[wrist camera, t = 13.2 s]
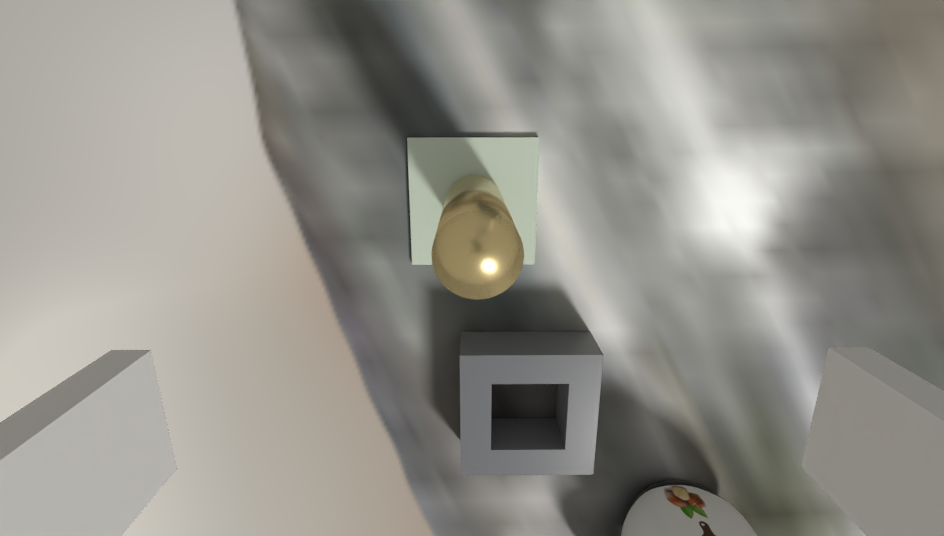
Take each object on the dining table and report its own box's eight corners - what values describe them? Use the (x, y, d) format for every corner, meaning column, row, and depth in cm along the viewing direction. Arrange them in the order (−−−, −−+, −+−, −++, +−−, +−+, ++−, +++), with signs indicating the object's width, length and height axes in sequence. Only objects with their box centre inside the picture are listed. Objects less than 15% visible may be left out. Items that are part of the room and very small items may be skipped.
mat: (407, 137, 33) (407, 137, 33) (538, 137, 33) (539, 137, 33) (412, 263, 36) (412, 264, 36) (534, 263, 36) (534, 264, 36)
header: (460, 331, 38) (459, 355, 34) (589, 331, 38) (603, 354, 34) (461, 441, 40) (460, 475, 37) (581, 441, 41) (593, 474, 37)
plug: (445, 174, 34) (430, 210, 20) (502, 174, 34) (525, 210, 20) (446, 230, 35) (432, 299, 22) (501, 230, 35) (522, 299, 22)
